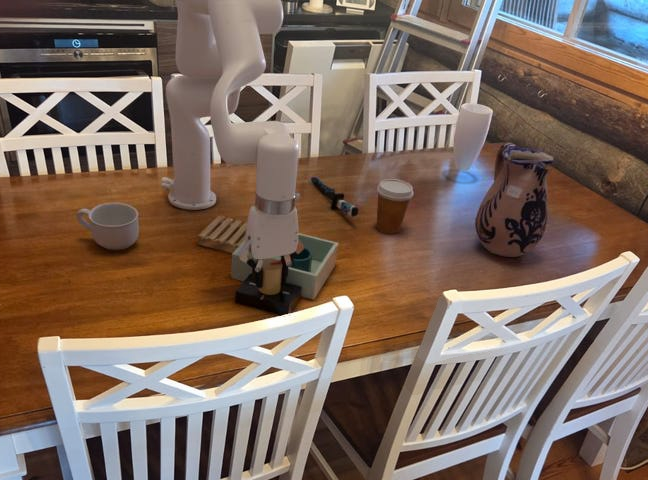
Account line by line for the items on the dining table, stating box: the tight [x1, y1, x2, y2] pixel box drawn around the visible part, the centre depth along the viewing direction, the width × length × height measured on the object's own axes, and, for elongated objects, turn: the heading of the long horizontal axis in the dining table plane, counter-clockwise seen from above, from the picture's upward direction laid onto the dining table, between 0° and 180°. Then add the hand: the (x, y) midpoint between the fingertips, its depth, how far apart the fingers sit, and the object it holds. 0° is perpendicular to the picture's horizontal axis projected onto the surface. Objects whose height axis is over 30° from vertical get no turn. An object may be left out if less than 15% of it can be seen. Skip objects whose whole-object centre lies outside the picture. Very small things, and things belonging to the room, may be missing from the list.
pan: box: [289, 247, 312, 272], centre depth 144 cm, size 12×7×5 cm, turn 73°
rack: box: [197, 215, 247, 254], centre depth 153 cm, size 12×12×3 cm
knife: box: [310, 176, 359, 218], centre depth 176 cm, size 31×3×4 cm, turn 20°
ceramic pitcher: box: [474, 142, 555, 258], centre depth 159 cm, size 18×21×25 cm
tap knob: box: [258, 258, 282, 295], centre depth 132 cm, size 5×5×6 cm
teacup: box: [76, 202, 140, 251], centre depth 145 cm, size 14×11×8 cm
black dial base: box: [234, 273, 302, 316], centre depth 134 cm, size 12×9×3 cm
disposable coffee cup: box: [376, 178, 415, 234], centre depth 165 cm, size 10×10×12 cm
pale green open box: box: [230, 232, 339, 300], centre depth 144 cm, size 20×17×6 cm
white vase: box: [452, 102, 494, 172], centre depth 196 cm, size 10×10×22 cm
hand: (269, 281), depth 132 cm, fingers closed on tap knob, 4 cm apart
